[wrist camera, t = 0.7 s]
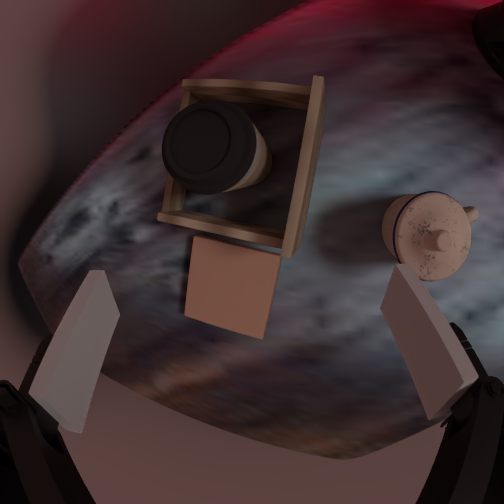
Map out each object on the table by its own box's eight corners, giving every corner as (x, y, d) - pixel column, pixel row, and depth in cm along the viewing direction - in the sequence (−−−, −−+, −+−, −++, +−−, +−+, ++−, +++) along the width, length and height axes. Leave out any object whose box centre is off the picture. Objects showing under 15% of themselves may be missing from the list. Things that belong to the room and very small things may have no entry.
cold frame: (326, 106, 33) (323, 76, 24) (301, 242, 37) (290, 258, 28) (198, 94, 37) (161, 70, 28) (176, 215, 41) (133, 221, 32)
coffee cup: (276, 199, 37) (241, 200, 23) (210, 191, 39) (146, 190, 25) (284, 130, 35) (255, 91, 21) (218, 126, 37) (159, 94, 23)
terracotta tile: (282, 254, 38) (280, 256, 37) (264, 335, 41) (262, 339, 39) (198, 234, 41) (193, 235, 39) (188, 311, 44) (184, 315, 42)
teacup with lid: (392, 274, 35) (415, 305, 24) (368, 207, 34) (385, 211, 23) (467, 240, 31) (511, 257, 20) (447, 175, 31) (489, 168, 20)
